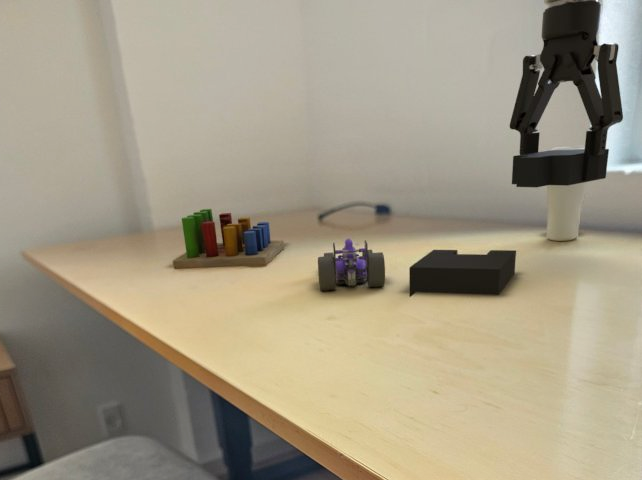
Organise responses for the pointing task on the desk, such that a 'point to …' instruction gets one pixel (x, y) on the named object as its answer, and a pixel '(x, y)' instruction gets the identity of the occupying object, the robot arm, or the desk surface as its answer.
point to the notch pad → (462, 272)
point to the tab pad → (553, 168)
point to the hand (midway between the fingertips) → (557, 179)
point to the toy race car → (351, 267)
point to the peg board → (225, 243)
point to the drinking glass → (564, 207)
